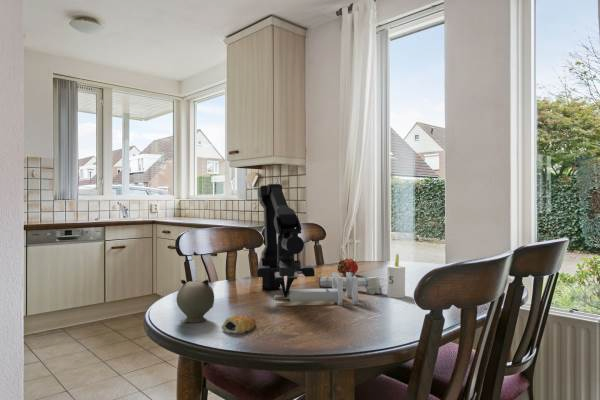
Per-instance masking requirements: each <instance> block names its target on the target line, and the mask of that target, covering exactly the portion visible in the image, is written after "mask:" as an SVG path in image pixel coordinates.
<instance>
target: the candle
mask: <svg viewBox="0 0 600 400" xmlns="http://www.w3.org/2000/svg"><path fill="white" fill-rule="evenodd" d="M399 259H400V258H399V254H398V253H396V255H395V260H394V264H387V265H386V296H387V298H388V297H389V298H394V299H403V298H405V297H406V266H405V265H402V264H400V263H399V262H400V260H399Z"/></svg>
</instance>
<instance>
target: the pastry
mask: <svg viewBox="0 0 600 400" xmlns="http://www.w3.org/2000/svg"><path fill="white" fill-rule="evenodd" d="M255 325H256V318H254V317H252V316H250V315H241V314H240V315H238V314H237V315H233V316H229V317H227V319H225V321H224V322H223V324H222V325H221V330H223V332H225V333H228V334H231V333H232V334H234V335H240V334H241V335H242V334H244V333H246V332H249V331H251V330H252V329H254V327H256V326H255Z"/></svg>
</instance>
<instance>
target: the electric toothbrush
mask: <svg viewBox="0 0 600 400" xmlns="http://www.w3.org/2000/svg"><path fill="white" fill-rule="evenodd" d="M341 277H342V278H343V288H344V287H345V288H346V277H345V276H341ZM357 278H358V287H364V288H365V290H366V294H367V295H368V294H370V295H375V294H378V295H379V294H382V293H383V289H382V288H384V287H383V284H381V283H380V279H379V277H378V276H369V277H357ZM318 287H321V288H328V289H330V288H332V276H330V275H328V276H321V277H319V278H318Z"/></svg>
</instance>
